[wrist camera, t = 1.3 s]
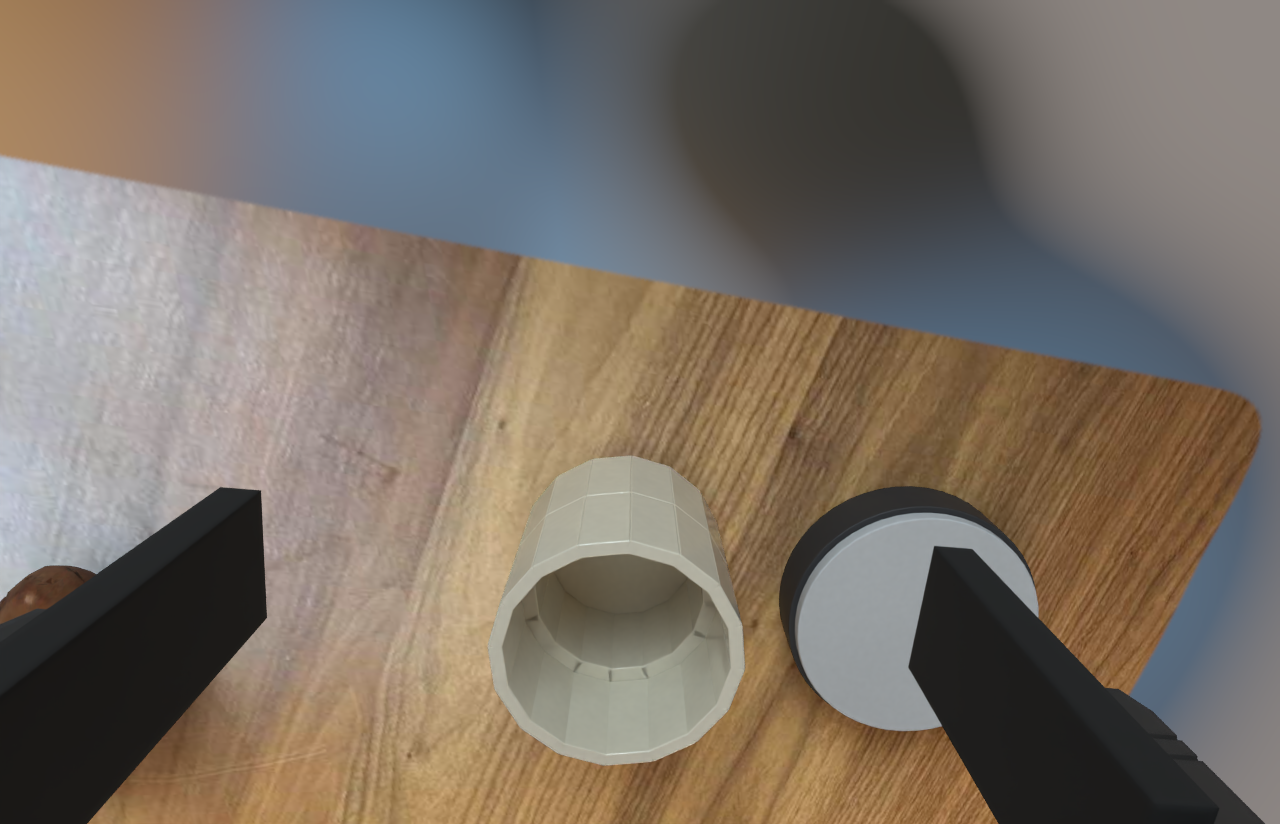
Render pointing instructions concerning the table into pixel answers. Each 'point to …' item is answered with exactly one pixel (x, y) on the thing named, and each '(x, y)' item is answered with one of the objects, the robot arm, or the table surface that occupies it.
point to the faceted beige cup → (618, 616)
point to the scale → (880, 597)
